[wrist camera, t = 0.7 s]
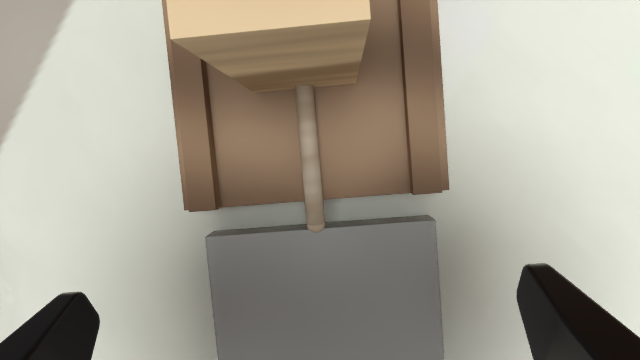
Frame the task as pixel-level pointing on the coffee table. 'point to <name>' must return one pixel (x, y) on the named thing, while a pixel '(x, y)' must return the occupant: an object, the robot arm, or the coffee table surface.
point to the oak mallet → (280, 57)
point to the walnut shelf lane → (318, 122)
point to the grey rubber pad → (327, 291)
